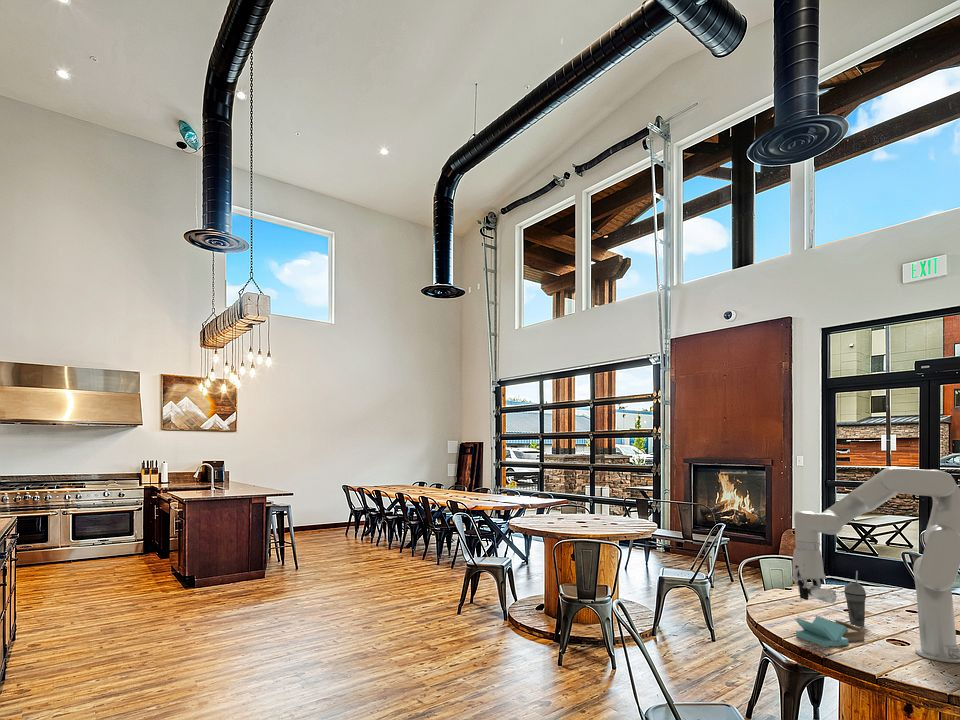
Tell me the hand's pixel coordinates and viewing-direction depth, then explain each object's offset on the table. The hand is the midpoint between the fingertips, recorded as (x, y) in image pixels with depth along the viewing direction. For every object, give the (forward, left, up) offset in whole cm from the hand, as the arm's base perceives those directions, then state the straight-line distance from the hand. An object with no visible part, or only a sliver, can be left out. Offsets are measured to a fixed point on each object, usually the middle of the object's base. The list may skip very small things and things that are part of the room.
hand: (810, 598), depth 213 cm
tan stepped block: (-2, -11, -13) cm, 17 cm away
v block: (-4, 0, -13) cm, 14 cm away
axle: (-3, 0, 0) cm, 3 cm away
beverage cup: (+8, -29, -14) cm, 33 cm away
